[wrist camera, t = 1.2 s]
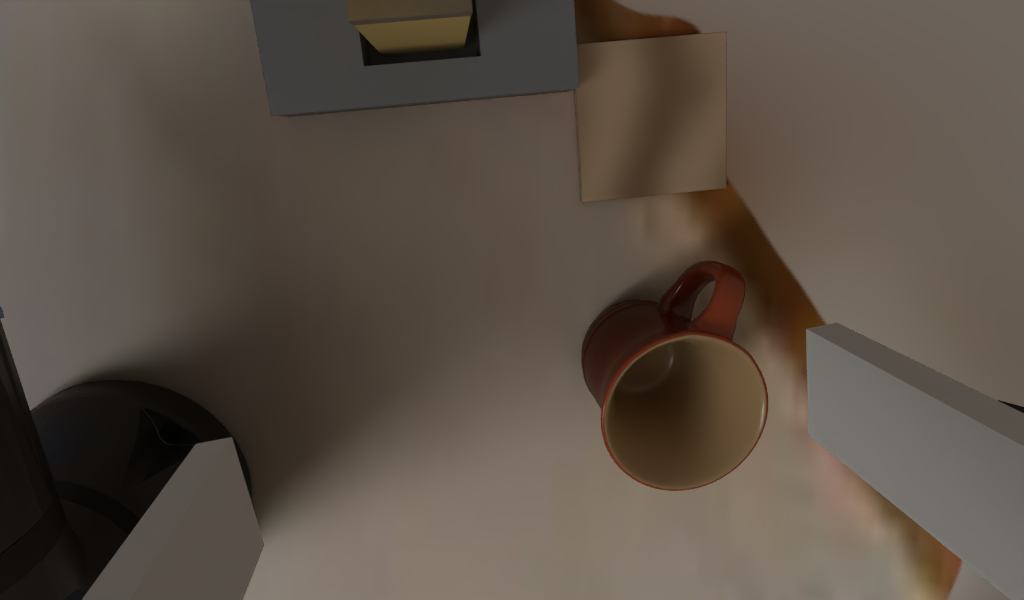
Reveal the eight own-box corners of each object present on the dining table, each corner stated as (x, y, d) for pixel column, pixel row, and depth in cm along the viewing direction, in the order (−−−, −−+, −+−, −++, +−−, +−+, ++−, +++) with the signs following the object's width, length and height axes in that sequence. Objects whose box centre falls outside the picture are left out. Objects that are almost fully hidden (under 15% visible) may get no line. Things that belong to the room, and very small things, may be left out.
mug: (663, 424, 45) (724, 510, 35) (545, 386, 43) (575, 465, 33) (738, 263, 42) (827, 306, 32) (616, 217, 40) (670, 247, 31)
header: (289, 116, 37) (271, 116, 33) (255, -79, 34) (230, -105, 30) (565, 91, 38) (579, 88, 34) (553, -100, 35) (566, -127, 32)
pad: (580, 201, 40) (582, 202, 39) (571, 45, 37) (573, 44, 37) (722, 187, 40) (726, 188, 40) (722, 33, 38) (726, 31, 37)
